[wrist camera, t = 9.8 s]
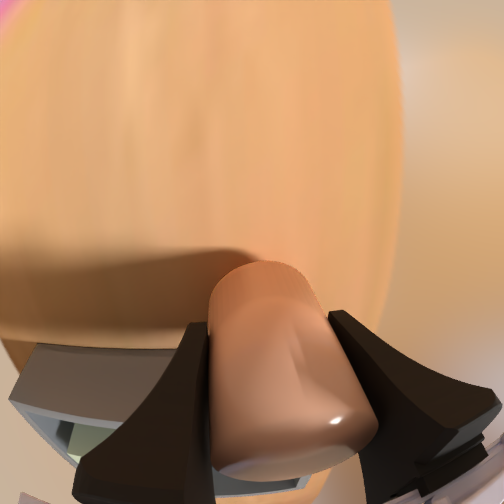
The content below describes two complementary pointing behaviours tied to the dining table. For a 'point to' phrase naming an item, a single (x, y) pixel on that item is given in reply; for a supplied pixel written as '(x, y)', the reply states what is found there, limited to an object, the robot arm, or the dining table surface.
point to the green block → (86, 439)
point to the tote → (104, 399)
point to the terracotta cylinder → (279, 379)
